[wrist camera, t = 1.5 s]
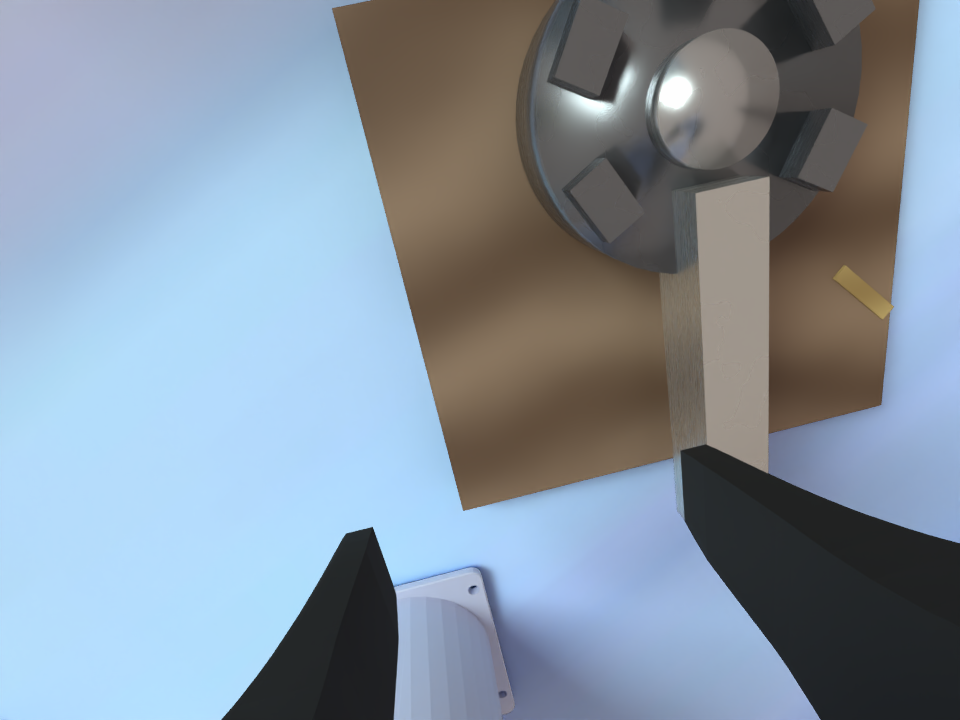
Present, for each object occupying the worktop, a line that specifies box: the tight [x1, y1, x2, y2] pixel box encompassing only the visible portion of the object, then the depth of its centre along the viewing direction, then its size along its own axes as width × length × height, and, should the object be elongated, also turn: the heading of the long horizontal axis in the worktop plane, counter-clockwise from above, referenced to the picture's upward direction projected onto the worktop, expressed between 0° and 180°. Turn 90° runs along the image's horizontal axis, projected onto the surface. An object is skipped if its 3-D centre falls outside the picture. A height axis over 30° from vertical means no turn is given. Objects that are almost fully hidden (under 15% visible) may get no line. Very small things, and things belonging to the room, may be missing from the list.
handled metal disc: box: [516, 0, 876, 520], centre depth 16 cm, size 18×9×4 cm, turn 11°
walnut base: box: [332, 0, 919, 511], centre depth 19 cm, size 18×18×2 cm
